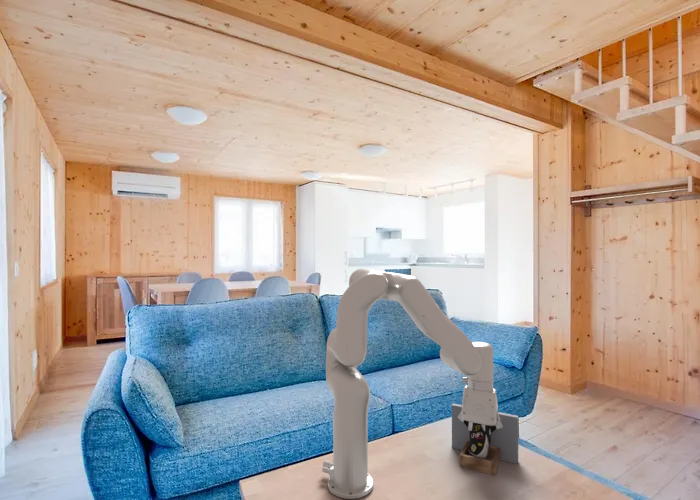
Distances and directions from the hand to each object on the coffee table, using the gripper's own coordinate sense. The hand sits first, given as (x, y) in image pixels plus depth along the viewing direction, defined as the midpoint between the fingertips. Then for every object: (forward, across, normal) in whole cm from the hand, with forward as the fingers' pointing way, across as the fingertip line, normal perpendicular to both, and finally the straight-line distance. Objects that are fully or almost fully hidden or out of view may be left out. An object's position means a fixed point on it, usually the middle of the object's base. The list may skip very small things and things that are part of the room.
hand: (480, 443), depth 121 cm
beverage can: (+4, -1, 0) cm, 4 cm away
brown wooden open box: (+6, 0, 0) cm, 6 cm away
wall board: (+6, 0, +6) cm, 8 cm away
